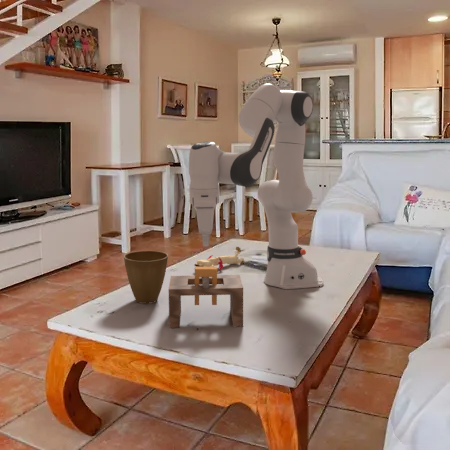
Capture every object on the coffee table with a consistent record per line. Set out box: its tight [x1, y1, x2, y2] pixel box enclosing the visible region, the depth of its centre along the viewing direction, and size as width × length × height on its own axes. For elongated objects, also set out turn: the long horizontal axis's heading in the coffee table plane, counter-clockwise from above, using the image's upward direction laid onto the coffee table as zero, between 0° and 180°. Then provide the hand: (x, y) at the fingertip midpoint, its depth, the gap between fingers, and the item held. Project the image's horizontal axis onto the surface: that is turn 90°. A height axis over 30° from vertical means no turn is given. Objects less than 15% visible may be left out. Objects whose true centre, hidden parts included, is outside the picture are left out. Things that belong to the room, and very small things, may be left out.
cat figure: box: [193, 246, 246, 271], centre depth 218 cm, size 10×9×25 cm
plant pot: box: [123, 250, 169, 304], centre depth 177 cm, size 15×15×16 cm
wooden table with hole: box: [168, 274, 244, 329], centre depth 159 cm, size 22×14×14 cm, turn 93°
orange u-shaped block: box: [194, 266, 218, 306], centre depth 158 cm, size 7×3×11 cm, turn 93°
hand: (205, 242), depth 156 cm, fingers open, 8 cm apart
